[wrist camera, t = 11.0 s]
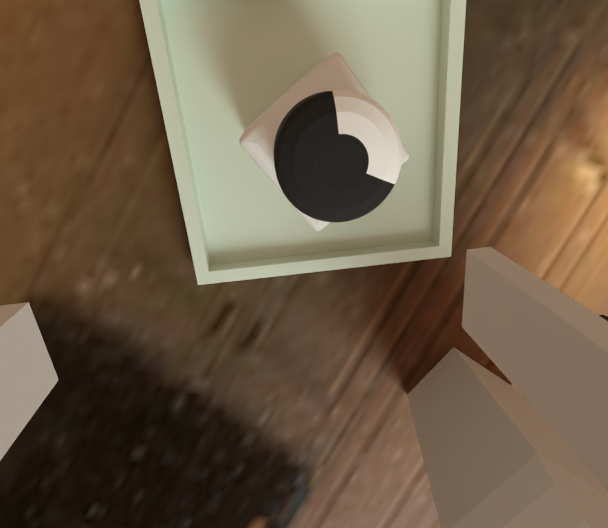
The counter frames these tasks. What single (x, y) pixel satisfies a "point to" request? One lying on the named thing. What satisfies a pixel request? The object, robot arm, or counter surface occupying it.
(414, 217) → the tray
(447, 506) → the soap bottle
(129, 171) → the counter surface
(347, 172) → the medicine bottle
